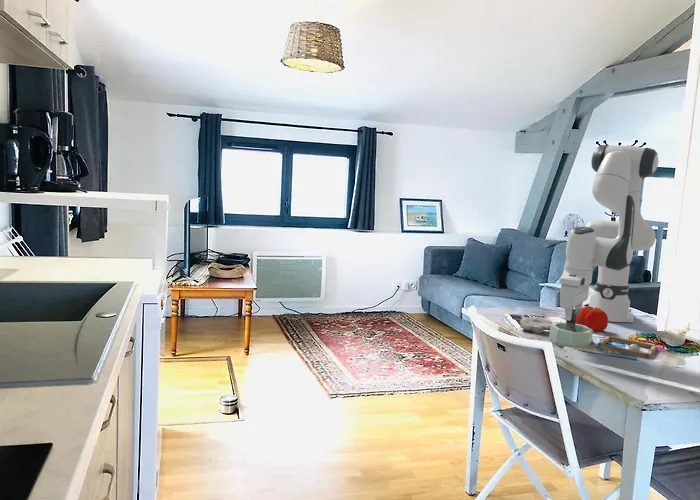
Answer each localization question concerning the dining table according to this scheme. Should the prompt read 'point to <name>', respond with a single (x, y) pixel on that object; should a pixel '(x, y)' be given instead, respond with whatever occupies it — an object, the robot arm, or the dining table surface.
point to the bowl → (570, 335)
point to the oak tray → (647, 355)
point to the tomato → (592, 318)
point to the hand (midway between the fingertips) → (572, 317)
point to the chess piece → (571, 322)
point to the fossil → (535, 324)
